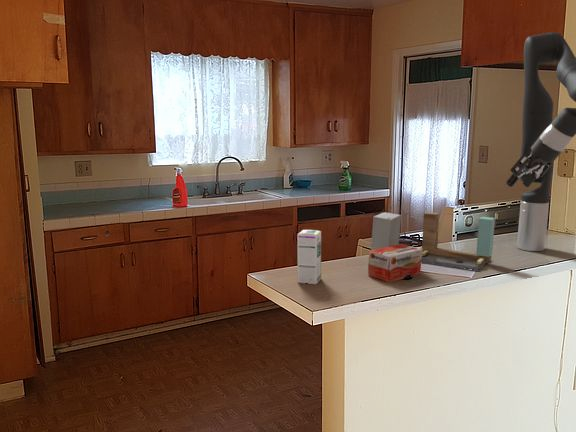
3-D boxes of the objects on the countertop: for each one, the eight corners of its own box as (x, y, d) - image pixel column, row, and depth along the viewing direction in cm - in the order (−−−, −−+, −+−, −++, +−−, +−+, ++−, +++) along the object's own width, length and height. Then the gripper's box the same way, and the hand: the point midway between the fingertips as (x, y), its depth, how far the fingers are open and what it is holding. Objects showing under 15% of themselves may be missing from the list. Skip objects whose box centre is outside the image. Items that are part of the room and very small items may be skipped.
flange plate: (427, 251, 191) (428, 247, 191) (489, 260, 180) (489, 256, 179) (411, 260, 178) (411, 256, 177) (477, 271, 166) (477, 266, 166)
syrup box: (316, 284, 152) (317, 234, 149) (296, 282, 153) (297, 232, 151) (321, 279, 157) (322, 230, 155) (301, 277, 159) (302, 228, 156)
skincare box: (380, 258, 181) (382, 211, 178) (400, 261, 177) (402, 214, 174) (368, 263, 174) (370, 215, 171) (389, 267, 170) (391, 217, 167)
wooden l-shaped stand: (425, 250, 187) (427, 211, 185) (491, 259, 175) (494, 218, 173) (416, 255, 180) (418, 215, 177) (484, 265, 168) (488, 223, 166)
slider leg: (479, 257, 177) (482, 216, 175) (491, 258, 175) (494, 217, 173) (471, 262, 170) (474, 220, 168) (485, 264, 168) (488, 222, 165)
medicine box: (388, 283, 154) (389, 256, 153) (367, 276, 160) (368, 250, 159) (421, 274, 164) (422, 248, 162) (400, 268, 170) (401, 243, 168)
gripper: (556, 136, 162) (522, 177, 171) (528, 133, 154) (494, 176, 163) (574, 151, 157) (538, 193, 167) (547, 149, 149) (511, 193, 159)
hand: (517, 185), depth 165 cm, fingers open, 8 cm apart
